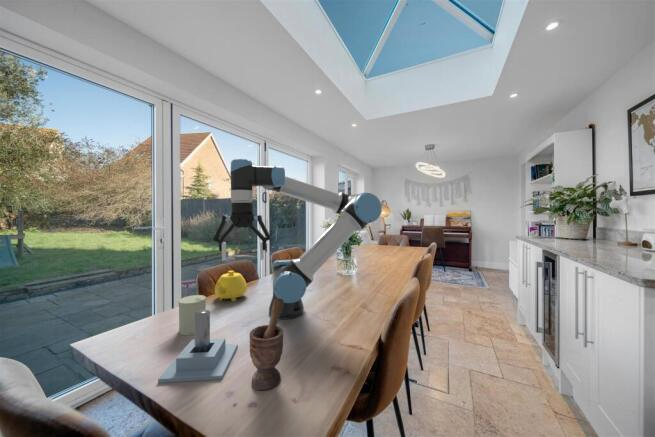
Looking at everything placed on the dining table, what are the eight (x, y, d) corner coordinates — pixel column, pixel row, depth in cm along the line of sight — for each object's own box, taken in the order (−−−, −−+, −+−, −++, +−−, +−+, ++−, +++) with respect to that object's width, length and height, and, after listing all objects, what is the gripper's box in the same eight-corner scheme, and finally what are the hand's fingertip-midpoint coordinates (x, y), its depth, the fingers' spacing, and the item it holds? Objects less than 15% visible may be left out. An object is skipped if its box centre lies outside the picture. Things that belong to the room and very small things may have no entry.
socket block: (237, 346, 83) (237, 333, 82) (222, 379, 67) (221, 362, 66) (186, 349, 81) (186, 335, 81) (158, 382, 65) (157, 365, 65)
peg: (212, 355, 76) (211, 309, 76) (206, 363, 72) (206, 314, 72) (198, 355, 76) (197, 309, 75) (192, 363, 72) (192, 315, 71)
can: (194, 336, 89) (194, 303, 89) (172, 333, 91) (172, 301, 91) (211, 324, 98) (211, 294, 98) (191, 322, 100) (190, 292, 100)
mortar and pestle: (257, 363, 73) (257, 296, 73) (287, 363, 74) (287, 296, 73) (245, 392, 62) (244, 312, 61) (280, 392, 62) (280, 312, 61)
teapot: (232, 307, 116) (232, 278, 115) (202, 305, 118) (201, 276, 118) (252, 293, 135) (252, 268, 135) (226, 291, 138) (225, 267, 138)
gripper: (277, 202, 98) (278, 256, 98) (210, 202, 95) (211, 258, 95) (275, 201, 90) (276, 260, 91) (202, 202, 87) (204, 262, 88)
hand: (243, 259), depth 93 cm, fingers open, 13 cm apart
